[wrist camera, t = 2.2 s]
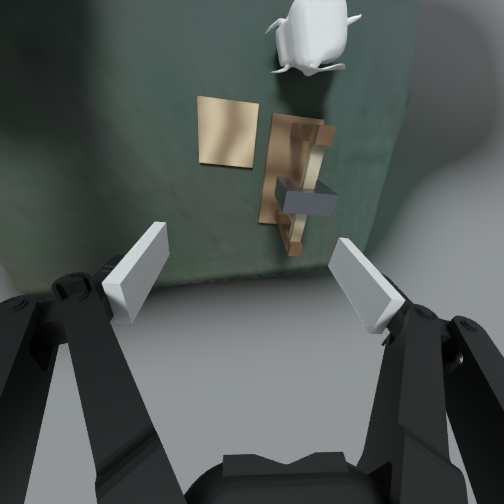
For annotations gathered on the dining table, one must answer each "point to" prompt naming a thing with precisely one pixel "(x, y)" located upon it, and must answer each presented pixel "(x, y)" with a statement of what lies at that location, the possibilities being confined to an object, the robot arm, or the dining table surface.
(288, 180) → the c link
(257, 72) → the dining table surface
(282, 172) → the stand
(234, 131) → the cork coaster
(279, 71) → the elephant figurine
